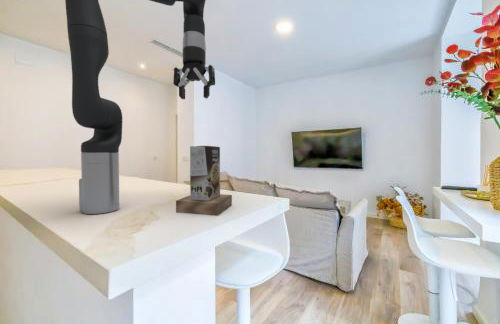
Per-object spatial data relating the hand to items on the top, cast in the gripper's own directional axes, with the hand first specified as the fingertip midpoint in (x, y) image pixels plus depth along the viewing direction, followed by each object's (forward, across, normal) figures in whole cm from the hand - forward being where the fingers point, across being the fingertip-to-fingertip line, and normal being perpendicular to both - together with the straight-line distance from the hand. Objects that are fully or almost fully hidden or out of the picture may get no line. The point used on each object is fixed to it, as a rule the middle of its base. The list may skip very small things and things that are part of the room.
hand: (194, 98), depth 76 cm
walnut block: (+37, +7, -6) cm, 38 cm away
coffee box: (+33, +7, -6) cm, 34 cm away
